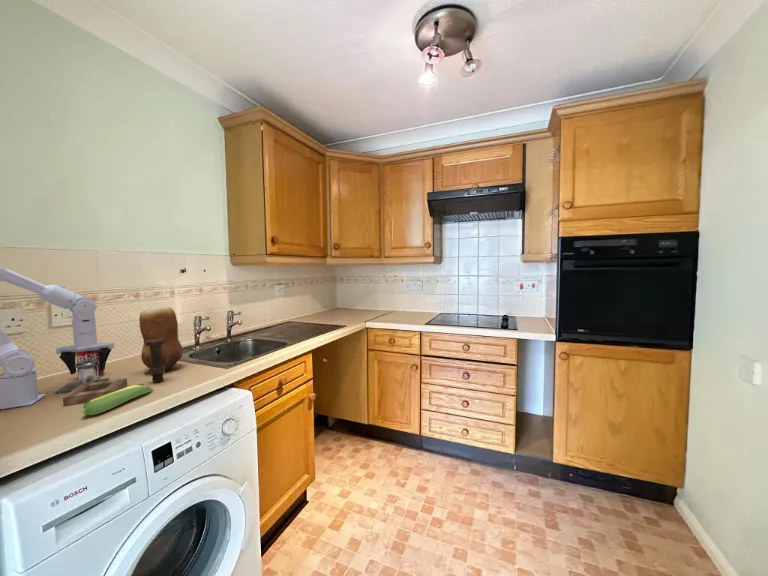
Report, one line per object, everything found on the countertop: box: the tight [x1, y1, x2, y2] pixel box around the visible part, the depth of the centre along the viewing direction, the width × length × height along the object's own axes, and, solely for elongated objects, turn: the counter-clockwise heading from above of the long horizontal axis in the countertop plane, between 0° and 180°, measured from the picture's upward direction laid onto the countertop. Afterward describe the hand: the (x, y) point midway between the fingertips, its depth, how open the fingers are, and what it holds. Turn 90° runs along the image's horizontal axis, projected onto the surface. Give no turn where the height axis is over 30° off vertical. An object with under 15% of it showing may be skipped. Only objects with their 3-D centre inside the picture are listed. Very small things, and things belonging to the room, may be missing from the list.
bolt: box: [145, 338, 166, 384], centre depth 111 cm, size 6×5×15 cm
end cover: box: [76, 360, 100, 385], centre depth 107 cm, size 6×6×8 cm
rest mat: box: [55, 377, 110, 395], centre depth 108 cm, size 11×9×1 cm
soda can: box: [75, 348, 105, 379], centre depth 117 cm, size 7×7×12 cm
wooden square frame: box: [62, 377, 128, 407], centre depth 100 cm, size 12×12×2 cm
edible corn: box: [80, 382, 154, 416], centre depth 93 cm, size 5×20×5 cm, turn 167°
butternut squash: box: [138, 306, 184, 371], centre depth 123 cm, size 14×13×25 cm
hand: (88, 371), depth 107 cm, fingers open, 7 cm apart
